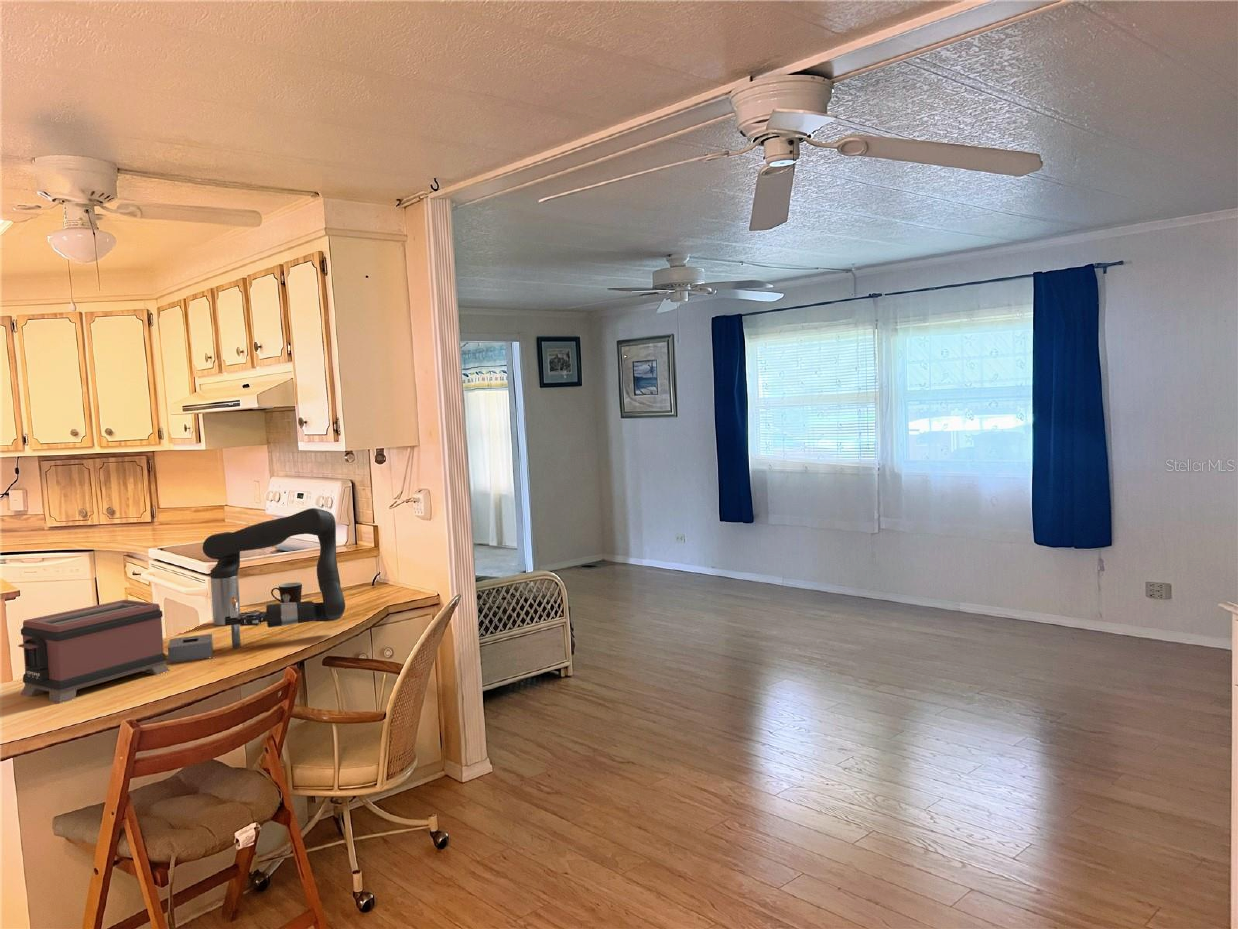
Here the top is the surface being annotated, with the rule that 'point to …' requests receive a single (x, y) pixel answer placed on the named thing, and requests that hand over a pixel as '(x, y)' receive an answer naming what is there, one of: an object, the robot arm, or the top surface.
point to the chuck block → (190, 648)
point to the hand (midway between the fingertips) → (225, 621)
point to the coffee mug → (289, 592)
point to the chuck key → (235, 628)
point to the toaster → (91, 647)
